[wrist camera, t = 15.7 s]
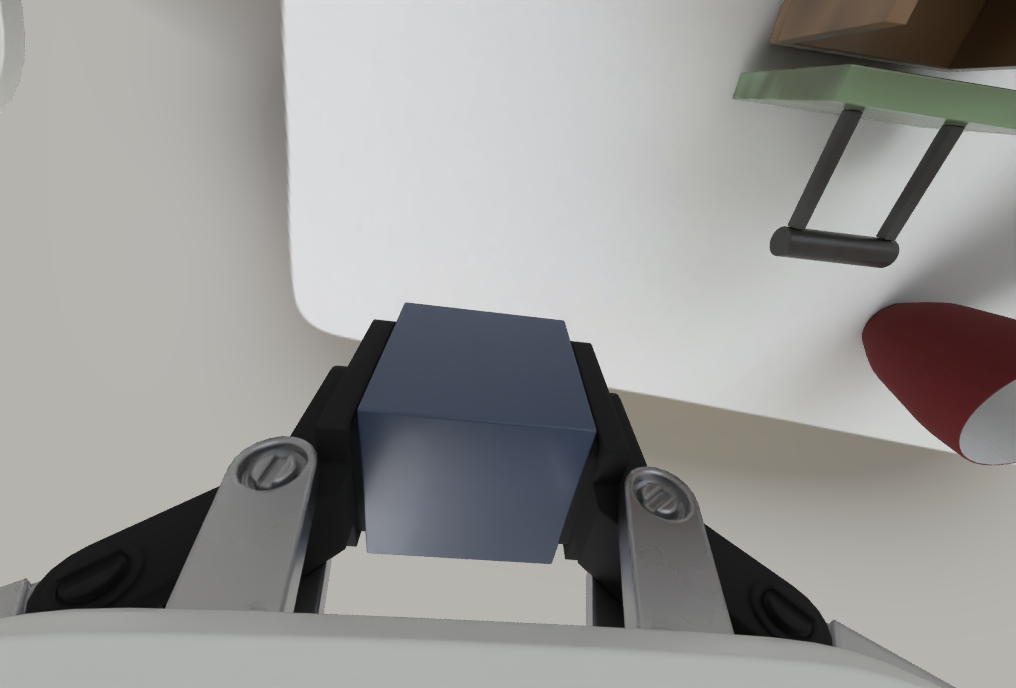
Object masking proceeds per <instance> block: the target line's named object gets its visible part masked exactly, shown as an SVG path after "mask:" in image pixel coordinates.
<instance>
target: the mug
mask: <svg viewBox="0 0 1016 688" xmlns="http://www.w3.org/2000/svg"><path fill="white" fill-rule="evenodd" d="M862 341H863V345H864V348H865V351H866V355H867V358H868V361H869V363H870V365H871V367H872V369H873V371H874V372H875V374H876V375H877V376H878V378H879V379H880V380H881V381H882V382H883V383H884V384H885V386H886V387H887V388H888V389H889V390H890V391H891V392H892V393H893V394H894V395H895V397H896V398H897V399H898V400H899V401H900V402H901V403H902V404H903V405H904V407H905V408H906V409H907V410H908V411H909V412H910V413H911V414H912V415H913V416H914V417H915V419H916V420H917V421H918V422H919V423H920V424H921V425H922V426H924V427H925V428H926V429H927V430H928V431H929V432H930V433H932V434H933V435H934V436H935V437H937V438H938V439H939V440H941V441H942V442H943V443H944V444H946V445H947V446H949V447H950V448H951V449H953V450H954V451H955V452H957V453H958V454H959V455H961V456H962V457H964V458H965V459H967V460H969V461H971V462H974V463H977V464H982V465H1003V464H1011V463H1016V320H1015V319H1012V318H1008V317H1004V316H1000V315H996V314H993V313H989V312H985V311H981V310H978V309H974V308H970V307H966V306H962V305H957V304H951V303H936V302H920V303H900V304H895V305H892V306H889V307H887V308H885V309H883V310H881V311H880V312H878V313H877V314H876V315H874V316H873V317H872V318H871V319H870V320H869V322H868V323H867V324H866V326H865V328H864V330H863V333H862Z"/></svg>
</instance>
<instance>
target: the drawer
mask: <svg viewBox="0 0 1016 688" xmlns="http://www.w3.org/2000/svg"><path fill="white" fill-rule="evenodd" d="M769 43H770V44H776V45H782V46H789V47H795V48H801V49H807V50H813V51H819V52H825V53H831V54H838V55H844V56H850V57H856V58H862V59H868V60H874V61H880V62H887V63H893V64H899V65H905V66H911V67H917V68H923V69H929V70H936V71H942V72H959V71H961V72H963V71H984V70H1006V69H1016V0H784V2H783V4H782V7H781V10H780V13H779V15H778V18H777V21H776V23H775V26H774V29H773V32H772V34H771V37H770V40H769ZM733 99H736V100H742V101H749V102H756V103H762V104H769V105H776V106H782V107H789V108H796V109H803V110H809V111H816V112H823V113H829V114H836V115H840V116H839V118H838V120H837V123H836V125H835V127H834V129H833V131H832V133H831V135H830V137H829V139H828V141H827V144H826V146H825V148H824V150H823V152H822V154H821V156H820V158H819V160H818V162H817V164H816V167H815V169H814V171H813V173H812V175H811V177H810V179H809V181H808V183H807V185H806V188H805V190H804V192H803V194H802V196H801V198H800V200H799V202H798V204H797V206H796V209H795V211H794V213H793V215H792V217H791V219H790V221H789V223H788V226H790V227H786V226H783V227H780V228H779V229H777V230H776V231H775V233H774V234H773V236H772V238H771V240H770V251H771V253H772V254H773V255H775V256H782V257H790V258H799V259H807V260H816V261H825V262H833V263H842V264H851V265H859V266H868V267H877V268H883V267H887V266H889V265H890V264H892V263H893V262H894V261H895V260H896V258H897V256H898V254H899V245H898V243H897V242H896V241H894V240H895V239H896V238H897V236H898V234H899V233H900V231H901V230H902V228H903V227H904V225H905V223H906V222H907V220H908V219H909V217H910V215H911V214H912V212H913V211H914V209H915V207H916V206H917V204H918V203H919V201H920V199H921V198H922V196H923V195H924V193H925V191H926V190H927V188H928V187H929V185H930V183H931V182H932V180H933V179H934V177H935V175H936V174H937V172H938V171H939V169H940V167H941V166H942V164H943V163H944V161H945V159H946V158H947V156H948V155H949V153H950V151H951V150H952V148H953V147H954V145H955V143H956V142H957V140H958V139H959V137H960V135H961V134H962V132H963V131H973V132H986V133H998V134H1011V135H1016V90H1012V89H1005V88H999V87H993V86H987V85H981V84H975V83H968V82H962V81H956V80H950V79H944V78H937V77H931V76H925V75H919V74H913V73H907V72H900V71H894V70H888V69H882V68H876V67H869V66H863V65H857V64H841V65H829V66H817V67H804V68H792V69H780V70H768V71H756V72H744V73H741V75H740V77H739V80H738V83H737V86H736V89H735V92H734V94H733ZM860 118H863V119H869V120H876V121H883V122H889V123H896V124H903V125H910V126H916V127H923V128H936V129H940V130H939V132H938V133H937V135H936V137H935V138H934V140H933V142H932V143H931V145H930V147H929V148H928V150H927V152H926V153H925V155H924V157H923V158H922V160H921V162H920V163H919V165H918V167H917V168H916V170H915V172H914V173H913V175H912V177H911V178H910V180H909V182H908V183H907V185H906V187H905V188H904V190H903V192H902V193H901V195H900V197H899V198H898V200H897V202H896V203H895V205H894V207H893V209H892V210H891V212H890V214H889V215H888V217H887V219H886V220H885V222H884V224H883V225H882V227H881V229H880V230H879V232H878V234H877V235H876V236H877V237H879V238H876V237H868V236H860V235H852V234H844V233H835V232H827V231H819V230H811V229H805V228H806V226H807V224H808V222H809V220H810V218H811V216H812V214H813V212H814V210H815V208H816V206H817V204H818V202H819V200H820V198H821V196H822V194H823V192H824V190H825V188H826V186H827V184H828V182H829V180H830V178H831V176H832V174H833V172H834V170H835V168H836V166H837V164H838V162H839V160H840V158H841V156H842V154H843V152H844V150H845V148H846V146H847V144H848V142H849V140H850V138H851V136H852V134H853V132H854V130H855V128H856V126H857V124H858V122H859V120H860Z"/></svg>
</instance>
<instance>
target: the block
mask: <svg viewBox="0 0 1016 688" xmlns="http://www.w3.org/2000/svg"><path fill="white" fill-rule="evenodd" d="M357 413H358V427H359V440H360V451H361V466H362V481H363V496H364V511H365V526H366V545H367V552H368V553H374V554H393V555H408V556H425V557H441V558H458V559H459V558H461V559H476V560H493V561H509V562H525V563H543V564H551V563H552V561H553V558H554V555H555V552H556V549H557V546H558V543H559V540H560V537H561V535H562V532H563V529H564V526H565V523H566V520H567V517H568V514H569V511H570V508H571V505H572V502H573V499H574V496H575V493H576V490H577V487H578V484H579V481H580V478H581V476H582V473H583V470H584V467H585V464H586V461H587V458H588V455H589V452H590V449H591V446H592V443H593V440H594V437H595V434H596V427H595V424H594V421H593V417H592V414H591V410H590V407H589V404H588V400H587V397H586V393H585V390H584V386H583V383H582V380H581V376H580V373H579V369H578V366H577V363H576V359H575V356H574V352H573V349H572V346H571V342H570V339H569V335H568V332H567V329H566V325H565V322H564V321H563V320H554V319H545V318H537V317H528V316H519V315H511V314H502V313H493V312H484V311H476V310H467V309H458V308H449V307H441V306H432V305H423V304H415V303H405V304H404V306H403V308H402V311H401V313H400V315H399V317H398V320H397V322H396V324H395V326H394V329H393V331H392V333H391V335H390V337H389V340H388V342H387V344H386V346H385V349H384V351H383V353H382V355H381V358H380V360H379V362H378V364H377V367H376V369H375V371H374V373H373V376H372V378H371V380H370V382H369V385H368V387H367V389H366V391H365V393H364V396H363V398H362V400H361V402H360V405H359V407H358V409H357Z"/></svg>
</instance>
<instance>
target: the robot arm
mask: <svg viewBox="0 0 1016 688" xmlns="http://www.w3.org/2000/svg"><path fill="white" fill-rule="evenodd" d="M395 324H396V322H393V321H384V320H373V322H372V324H371V325H370V327H369V329H368V331H367V333H366V334H365V336H364V338H363V340H362V342H361V343H360V345H359V347H358V349H357V351H356V353H355V354H354V356H353V358H352V360H351V362H350V363H349V365H348V367H346V366H334V367H333V368H332V369H331V370H330V372H329V373H328V375H327V377H326V378H325V380H324V382H323V383H322V385H321V386H320V388H319V390H318V391H317V393H316V395H315V396H314V398H313V400H312V401H311V403H310V405H309V406H308V408H307V409H306V411H305V413H304V414H303V416H302V418H301V420H300V421H299V423H298V425H297V426H296V428H295V429H294V431H293V432H292V434H291V436H290V437H284V436H282V437H275V438H269V439H266V440H263V441H260V442H257V443H255V444H253V445H252V446H250V447H248V448H246V449H244V450H243V451H242V452H241V453H240V454H239V455H238V456H236V457H235V458H234V460H233V461H232V463H231V464H230V466H229V467H228V469H227V471H226V473H225V476H224V478H223V480H222V482H221V485H220V486H219V487H217V488H215V489H212V490H210V491H208V492H206V493H203V494H202V495H199V496H197V497H195V498H192V499H190V500H188V501H186V502H184V503H182V504H179V505H177V506H175V507H173V508H170V509H168V510H166V511H164V512H162V513H159V514H157V515H155V516H153V517H151V518H149V519H146V520H144V521H142V522H140V523H138V524H135V525H133V526H131V527H128V528H126V529H124V530H122V531H120V532H117V533H115V534H113V535H111V536H109V537H107V538H104V539H102V540H100V541H98V542H96V543H93V544H91V545H89V546H87V547H85V548H83V549H82V550H80V551H78V552H76V553H74V554H72V555H71V556H69V557H68V558H66V559H65V560H64V561H62V562H61V563H60V564H58V565H57V566H56V567H54V568H53V569H52V570H51V571H50V572H49V573H48V574H47V575H46V576H45V577H44V578H43V579H42V580H41V581H39V582H37V583H34V584H30V582H29V581H28V580H27V579H23V580H20V581H17V582H14V583H12V584H9V585H6V586H3V587H0V688H955V687H953V686H952V685H950V684H948V683H946V682H944V681H943V680H941V679H939V678H937V677H935V676H934V675H932V674H930V673H928V672H927V671H925V670H923V669H921V668H919V667H918V666H915V665H914V664H912V663H910V662H909V661H907V660H905V659H903V658H902V657H900V656H898V655H896V654H895V653H893V652H891V651H889V650H887V649H886V648H884V647H882V646H880V645H878V644H877V643H875V642H873V641H871V640H869V639H868V638H866V637H864V636H862V635H861V634H859V633H857V632H855V631H854V630H852V629H850V628H848V627H846V626H845V625H843V624H841V623H839V622H837V621H836V620H833V621H832V622H831V623H830V624H828V623H826V622H825V620H824V619H823V617H822V615H821V614H820V612H819V611H818V610H817V608H816V607H815V606H814V605H813V604H812V603H811V601H810V600H809V599H808V598H807V597H806V596H804V595H803V594H802V593H801V592H800V591H798V590H797V589H796V588H795V587H794V586H792V585H791V584H789V583H788V582H787V581H785V580H784V579H782V578H781V577H779V576H778V575H776V574H775V573H774V572H772V571H771V570H769V569H768V568H767V567H765V566H764V565H762V564H761V563H759V562H758V561H757V560H755V559H754V558H752V557H751V556H749V555H748V554H747V553H745V552H744V551H742V550H741V549H739V548H738V547H737V546H735V545H734V544H732V543H731V542H729V541H728V540H726V539H725V538H724V537H722V536H721V535H719V534H718V533H716V532H715V531H714V530H712V529H711V528H709V527H708V526H707V525H705V524H704V523H703V519H702V515H701V512H700V508H699V505H698V502H697V500H696V497H695V495H694V493H693V492H692V491H691V490H690V489H689V487H688V486H687V485H686V484H685V483H684V482H683V481H682V480H680V479H679V478H678V477H676V476H675V475H673V474H671V473H669V472H668V471H665V470H662V469H659V468H655V467H647V464H646V462H645V459H644V457H643V454H642V452H641V449H640V447H639V445H638V442H637V440H636V437H635V434H634V432H633V429H632V427H631V424H630V422H629V419H628V417H627V414H626V412H625V410H624V407H623V404H622V402H621V399H620V398H619V396H618V395H617V394H615V393H609V390H608V388H607V385H606V382H605V380H604V377H603V374H602V372H601V369H600V366H599V364H598V361H597V358H596V355H595V353H594V350H593V347H592V345H591V344H590V343H583V342H574V341H570V342H571V346H572V349H573V352H574V356H575V359H576V363H577V366H578V369H579V373H580V376H581V380H582V383H583V386H584V390H585V393H586V397H587V400H588V404H589V407H590V410H591V414H592V417H593V421H594V424H595V427H596V434H595V437H594V440H593V443H592V446H591V449H590V452H589V455H588V458H587V461H586V464H585V467H584V470H583V473H582V476H581V478H580V481H579V484H578V487H577V490H576V493H575V496H574V499H573V502H572V505H571V508H570V511H569V514H568V517H567V520H566V523H565V526H564V529H563V532H562V535H561V537H560V540H559V543H558V544H563V547H564V554H565V559H570V560H578V563H579V564H580V565H581V566H582V567H583V568H584V569H585V570H586V571H587V576H586V626H577V625H576V626H575V625H557V624H536V623H514V622H494V621H471V620H451V619H429V618H407V617H406V618H405V617H384V616H360V615H337V614H324V608H325V601H326V594H327V587H328V581H329V574H330V567H331V558H332V557H334V556H335V555H337V554H338V553H340V552H341V551H343V550H344V549H345V548H346V546H357V543H358V540H359V537H360V533H361V531H366V526H365V511H364V496H363V481H362V466H361V451H360V440H359V427H358V413H357V409H358V407H359V405H360V402H361V400H362V398H363V396H364V393H365V391H366V389H367V387H368V385H369V382H370V380H371V378H372V376H373V373H374V371H375V369H376V367H377V364H378V362H379V360H380V358H381V355H382V353H383V351H384V349H385V346H386V344H387V342H388V340H389V337H390V335H391V333H392V331H393V329H394V326H395Z"/></svg>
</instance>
